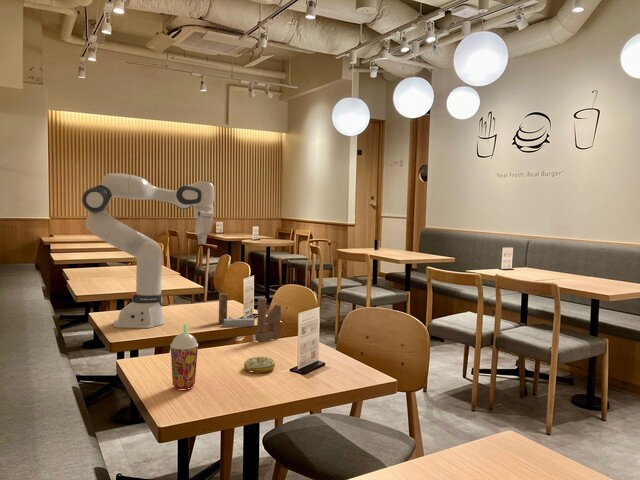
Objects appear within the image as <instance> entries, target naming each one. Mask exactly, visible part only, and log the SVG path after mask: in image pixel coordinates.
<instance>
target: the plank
mask: <svg viewBox="0 0 640 480" xmlns="http://www.w3.org/2000/svg"><path fill="white" fill-rule="evenodd" d="M224 319H228V293H227V292H225V293H223V292H221V293H219V294H218V324H219V325H224Z"/></svg>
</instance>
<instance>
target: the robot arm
mask: <svg viewBox="0 0 640 480" xmlns="http://www.w3.org/2000/svg"><path fill="white" fill-rule="evenodd" d="M114 198H120V199H127V200H133V201H134V200H138V201H139V200H141V201H142V200H144V201H145V200H146V201H148V200H149V201H157V202H163V203H168V204H172V205H173V206H175V207H177V208H178V209H181V210H187V209H190V208H191V207H194V215H193V217H194V218H195V219H196V224H195V236H197V244H198V245H203V244H207V238H208V234H211V230H212V225H213V219H214V218H215V212H214V210H215V209H214V203H215V185H214V184H213V183H211V182H210V181H208V180H203V179H201V180H197V181H196V182H194V183H192V184H191V183H190V184H188V185H187V184H186V185H183V186H180V187H178V188H177V189H175V190H173V189H168V188H162V187H157V186H154V185H153V184H152V183H150V182H149V181H148V180H147V179H145V178H144V177H140V176H137V175H134V174H129V173H128V174H127V173H119V172H118V173H116V172H115V173H114V172H113V173H111V172H110V173H106V174H105V175H104V176H103V178H102V180H101V184H99V185H96V186H93V187H90V188H89V189H86V190H84V193H83V194H82V196H81V202H82V205H83V207H84V208H85V209H86V210H87V211H88V215H87V217H86V219H85V227H86V229H87V230H88V231H89V232H91V233H92V234H93V235H94V236H96V237H97V238H99V239H100V240H102V241H104V242H106V243H107V244H109V245H111V246H113V247H114V248H116V249H118V250H120V251H122V252H125V253H126V254H128V255H130V256H132V257H134V258H136V274H135V275H136V279H135V280H136V281H135V282H136V288H135V290H136V292H135V293H134V292H132V294H131V295H130V296H131V302H130V303H129V304H126V306H124V307H123V308H122V309H121V310H120V311H119V313H118V318H117V319H116V320H114V321H113V323H112V326H113V327H114V328H120V329H121V328H123V329H125V328H127V329H133V328H134V329H150V328H153V327H157V326H162V325H164V324H165V319H164V315H163V310H162V309H163V308H162V304H163V293H162V271H163V268H162V267H163V250H162V248H161V245H160V244H159V243H158V242H157V241H155V240H154V239H152V238H151V237H149V236H146V235H145V234H143V233H141V232H139V231H138V230H136V229H134V228H132V227H130V226H129V225H127V224H125V223H124V222H122V221H120V220H119V219H116V218H115V217H113V216H112V215H110V214H109V213H108V212H107V210H108V206H109V204H110V201H111V199H114Z"/></svg>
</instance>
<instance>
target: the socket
mask: <svg viewBox="0 0 640 480" xmlns="http://www.w3.org/2000/svg"><path fill="white" fill-rule="evenodd" d="M223 326H224V328H233V327H255V318H254V317H251V318H249V317H247V316H246V315H243V316H242V318H234V317H233V316H230V315H229V317H228V318H227V319H224V324H223Z"/></svg>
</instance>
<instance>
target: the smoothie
mask: <svg viewBox="0 0 640 480" xmlns="http://www.w3.org/2000/svg"><path fill="white" fill-rule="evenodd" d="M186 328H187V324H186V323H185V324H183V332H182V333H179V334H177V335H176V336H175V337H174V338H173V340H172V342H171V343H170V358H171V378H172V385H173V387H175V388H176V389H188V388H191V387H193V388H194V385H195V384H196V375H197V374H196V373H197V362H198V361H197V360H198V350H199V343H198V341H197V339H196V337H195V336H194V335H192V333H191V334H190V333H188V332H187V331H186V330H187V329H186ZM175 388H174V389H175ZM176 389H175V390H176Z"/></svg>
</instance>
